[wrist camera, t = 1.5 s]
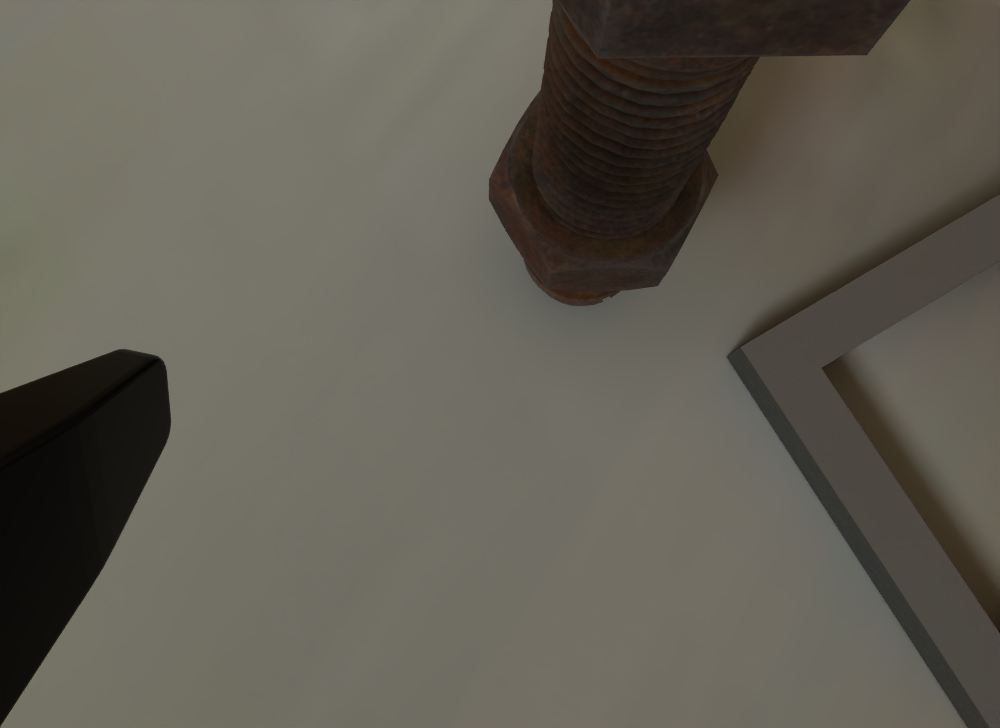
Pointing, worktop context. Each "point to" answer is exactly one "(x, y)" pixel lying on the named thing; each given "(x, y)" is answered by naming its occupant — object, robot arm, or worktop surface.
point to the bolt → (643, 127)
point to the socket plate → (859, 467)
